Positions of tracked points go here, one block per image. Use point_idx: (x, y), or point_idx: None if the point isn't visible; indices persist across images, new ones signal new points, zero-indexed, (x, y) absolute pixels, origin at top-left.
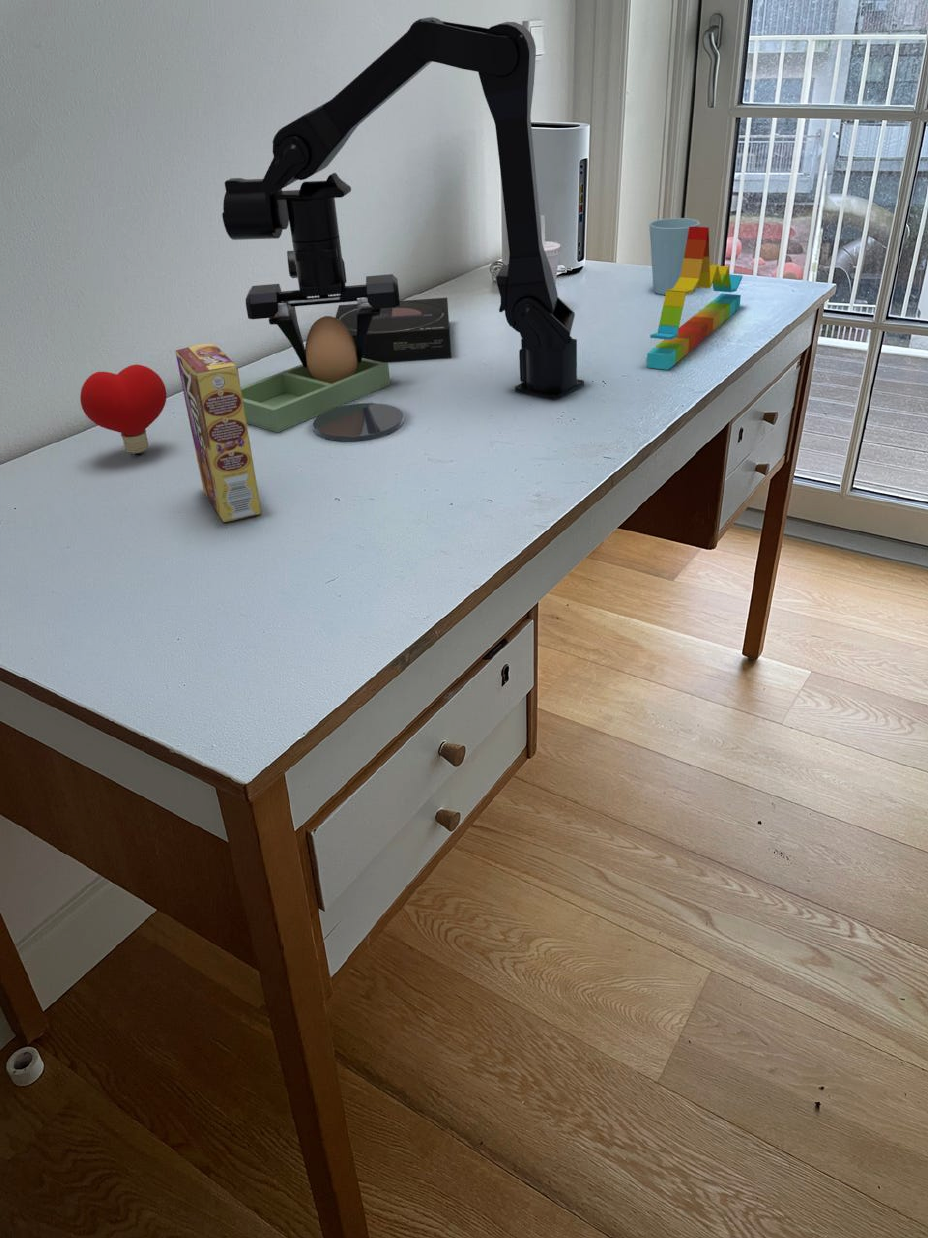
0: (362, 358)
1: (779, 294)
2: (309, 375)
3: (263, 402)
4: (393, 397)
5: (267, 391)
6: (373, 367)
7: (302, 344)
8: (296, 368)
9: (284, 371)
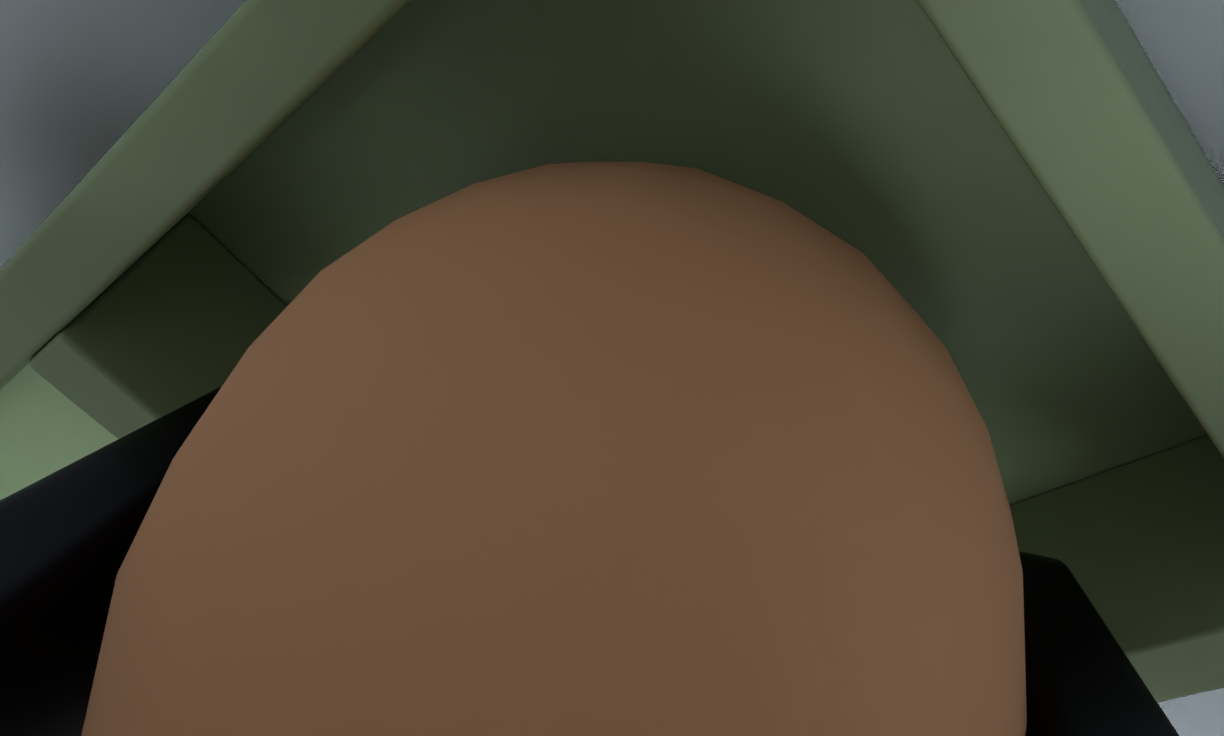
0: (1189, 264)
1: None
2: (334, 73)
3: (40, 388)
4: (1191, 696)
5: (7, 382)
6: (1169, 658)
7: (81, 687)
8: (137, 251)
9: (19, 298)
